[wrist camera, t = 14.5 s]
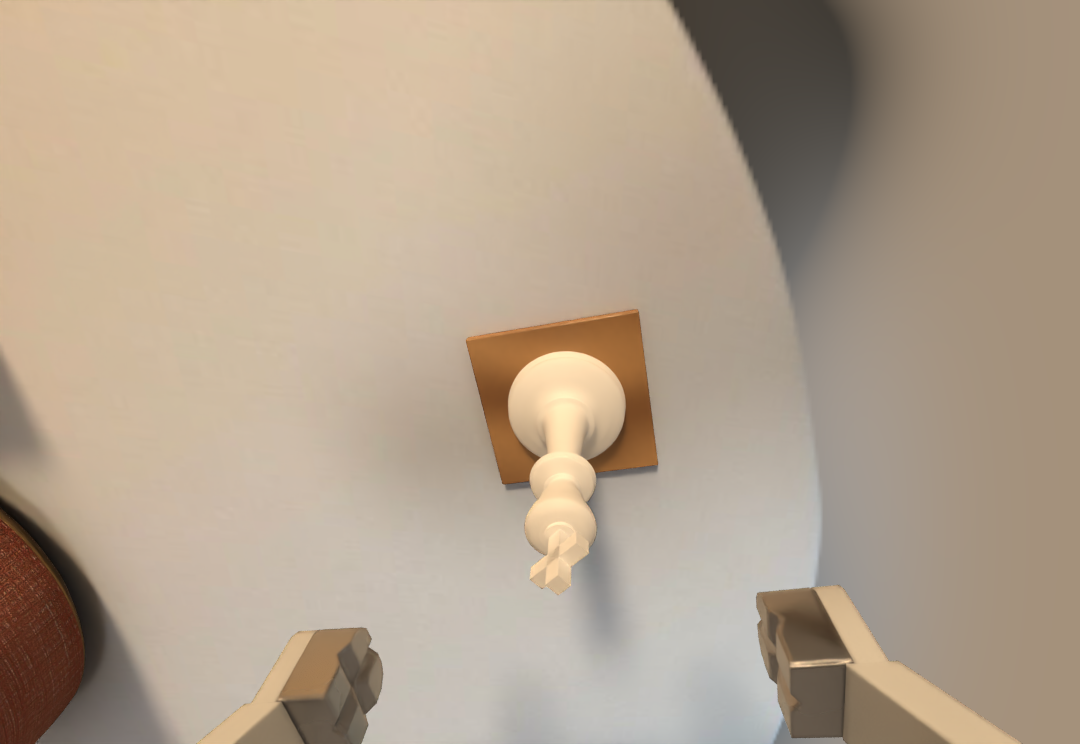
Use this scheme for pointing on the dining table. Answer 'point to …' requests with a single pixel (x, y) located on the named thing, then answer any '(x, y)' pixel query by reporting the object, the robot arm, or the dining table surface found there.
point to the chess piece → (564, 453)
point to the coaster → (594, 336)
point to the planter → (34, 638)
